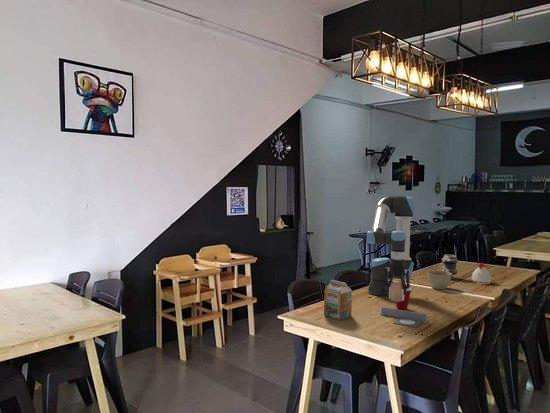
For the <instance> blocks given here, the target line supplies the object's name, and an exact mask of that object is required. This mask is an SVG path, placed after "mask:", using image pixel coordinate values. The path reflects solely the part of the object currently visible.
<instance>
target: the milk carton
mask: <svg viewBox="0 0 550 413" xmlns="http://www.w3.org/2000/svg"><path fill="white" fill-rule="evenodd" d="M323 296H324V299H323V300H324V301H323V316H324V315H325V316H324V317H327V316H329V317H328V318H330V317H332V318H331V319H334V318H335V319H334V320H337V319H338V320H337V321H341V319H342V320H344V319H348V318H350V317H352V308H353V306H352V305H353V304H352V303H353V290H352V289H351V288H350V287H349V286H348V284H347V282H344V281H338V280H335V279H334V280H333V279H330V282H329V283H328V284H327V285H326V287H325V289H324V295H323Z"/></svg>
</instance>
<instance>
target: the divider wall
mask: <svg viewBox="0 0 550 413" xmlns="http://www.w3.org/2000/svg"><path fill="white" fill-rule="evenodd" d="M379 315H380V316H383V317H384V316H389V317H393V318H394V317H395V318H399V317H400V318H406V319H412V320H417V321H422V322H421V323H425V324H427V323H428V314H427V313H422V312H416V311H409V310H406V309H405V310H401V309H398V308H392V307H387V306H386V307H385V306H381V311H380V314H379Z"/></svg>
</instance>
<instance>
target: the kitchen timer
mask: <svg viewBox="0 0 550 413" xmlns="http://www.w3.org/2000/svg"><path fill="white" fill-rule="evenodd" d="M485 266H486V265H485V264H484V262H480V263H479V264H478V267H477V268H475V270H474V271H472V273H471V277H470V278H471V279H470V282H471V281H474V282H480V283H488V282H492V274H490V272H489V270H488V269H487V268H486V267H485Z"/></svg>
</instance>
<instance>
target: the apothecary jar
mask: <svg viewBox="0 0 550 413" xmlns="http://www.w3.org/2000/svg"><path fill="white" fill-rule="evenodd" d="M441 262H442V268H441V269H440V271H445V272H449V273H451V274H452V275H451V280H456V279H455V278H456V277H454V276H456V275H457V273H458V269H457V263H459V260H458V258H457V256H456V254H455V255H454V254H444V255H443V257H442V258H441Z"/></svg>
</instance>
